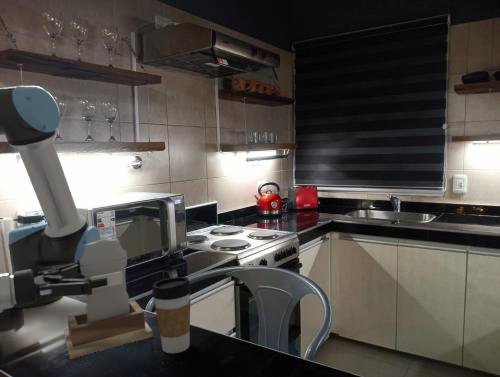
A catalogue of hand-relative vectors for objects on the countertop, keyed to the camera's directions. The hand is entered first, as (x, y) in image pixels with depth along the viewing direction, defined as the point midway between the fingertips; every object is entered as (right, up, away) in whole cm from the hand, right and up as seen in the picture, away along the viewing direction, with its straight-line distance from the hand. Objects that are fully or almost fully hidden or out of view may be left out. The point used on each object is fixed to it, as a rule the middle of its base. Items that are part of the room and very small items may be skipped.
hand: (116, 270), depth 98 cm
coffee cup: (+16, -16, -7) cm, 23 cm away
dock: (-2, -16, 0) cm, 16 cm away
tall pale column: (-1, -14, 0) cm, 14 cm away
